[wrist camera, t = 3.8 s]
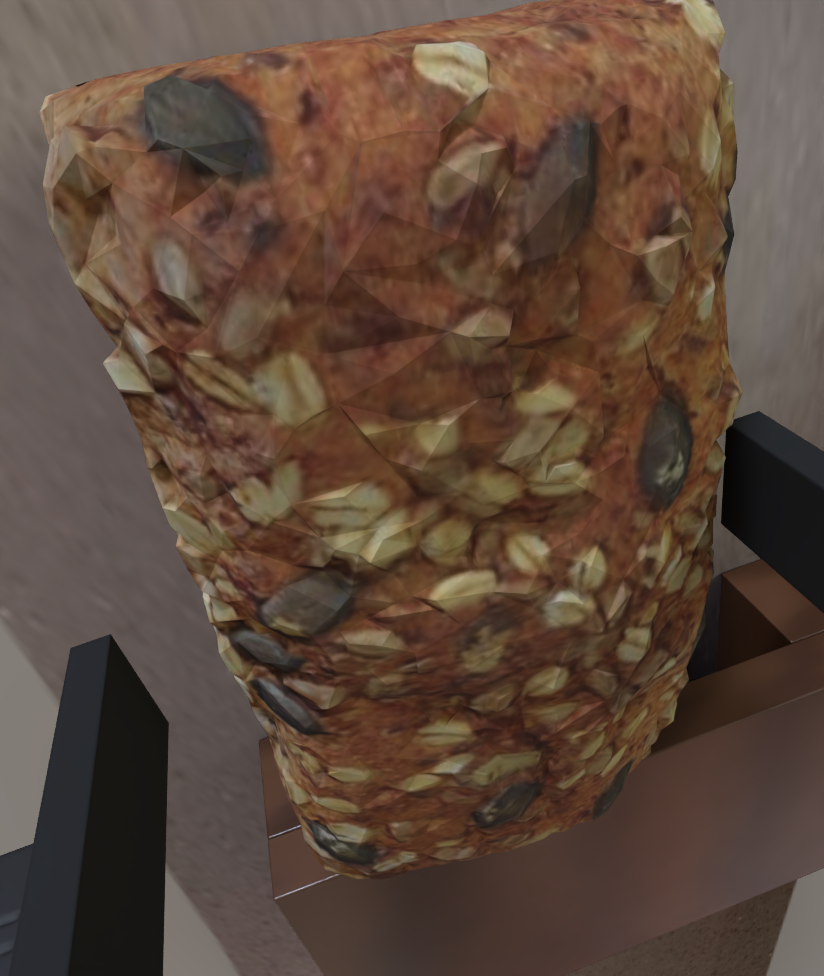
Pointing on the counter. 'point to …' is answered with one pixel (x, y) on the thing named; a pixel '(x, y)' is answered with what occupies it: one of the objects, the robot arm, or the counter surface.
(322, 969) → the shelf
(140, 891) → the robot arm
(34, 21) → the counter surface
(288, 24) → the counter surface
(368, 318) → the bread
